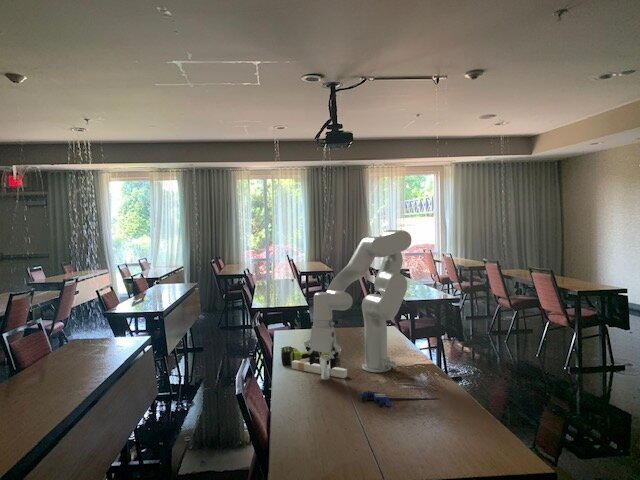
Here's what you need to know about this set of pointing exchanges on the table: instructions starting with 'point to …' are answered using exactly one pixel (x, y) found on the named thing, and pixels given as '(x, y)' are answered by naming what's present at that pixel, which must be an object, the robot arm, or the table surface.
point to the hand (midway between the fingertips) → (322, 365)
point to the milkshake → (325, 366)
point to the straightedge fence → (318, 368)
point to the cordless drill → (296, 355)
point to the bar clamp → (385, 398)
